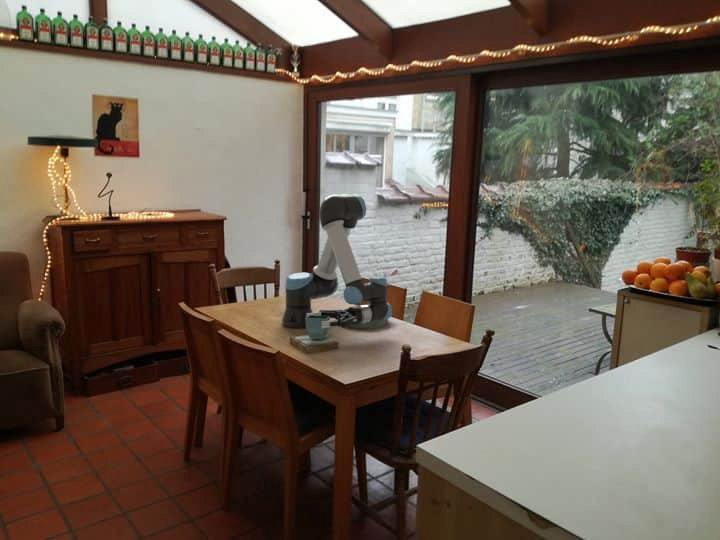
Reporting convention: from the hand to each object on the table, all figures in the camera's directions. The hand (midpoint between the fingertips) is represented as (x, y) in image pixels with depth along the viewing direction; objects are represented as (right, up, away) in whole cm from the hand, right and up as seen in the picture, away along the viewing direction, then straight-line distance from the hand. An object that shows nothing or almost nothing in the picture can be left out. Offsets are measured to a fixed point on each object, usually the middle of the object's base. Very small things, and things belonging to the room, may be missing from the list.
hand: (314, 320), depth 242 cm
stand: (0, -10, +2) cm, 11 cm away
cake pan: (+21, -4, +39) cm, 44 cm away
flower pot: (+1, -8, 0) cm, 8 cm away
